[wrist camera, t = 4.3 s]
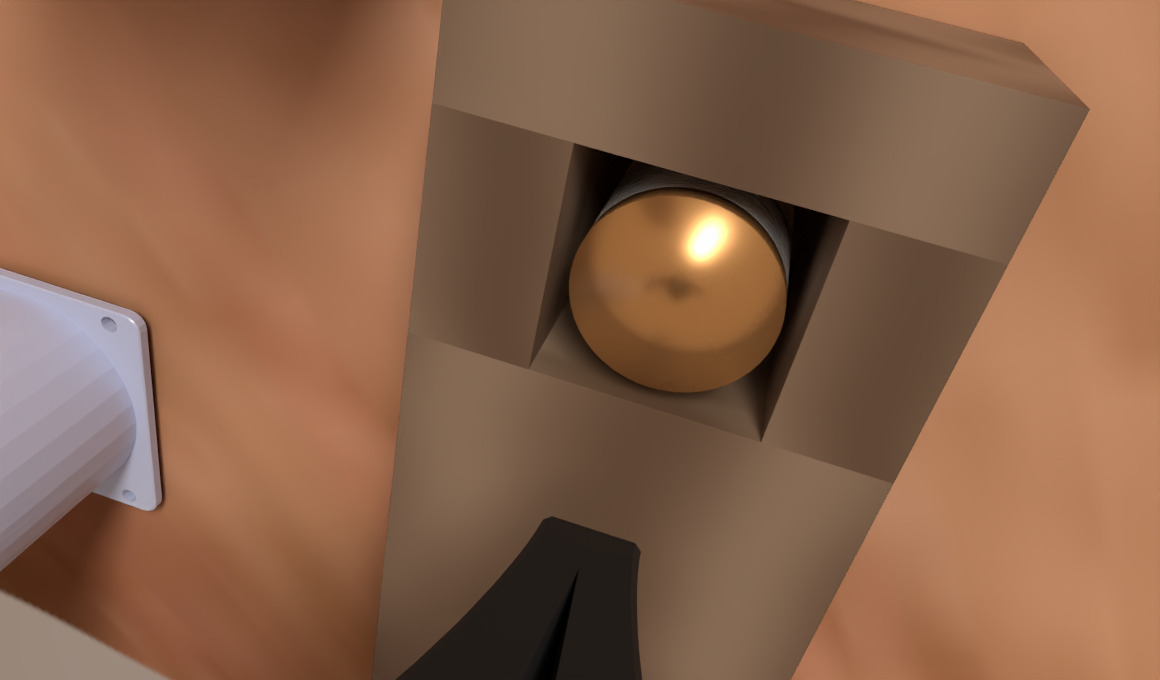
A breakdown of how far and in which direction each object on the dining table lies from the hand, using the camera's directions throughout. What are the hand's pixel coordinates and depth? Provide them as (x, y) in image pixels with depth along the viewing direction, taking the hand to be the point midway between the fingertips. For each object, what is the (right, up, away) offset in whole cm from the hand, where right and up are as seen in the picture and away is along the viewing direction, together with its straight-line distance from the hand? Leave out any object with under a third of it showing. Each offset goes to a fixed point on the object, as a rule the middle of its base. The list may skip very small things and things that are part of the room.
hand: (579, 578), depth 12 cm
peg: (+3, +6, +7) cm, 10 cm away
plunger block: (+1, 0, +12) cm, 12 cm away
